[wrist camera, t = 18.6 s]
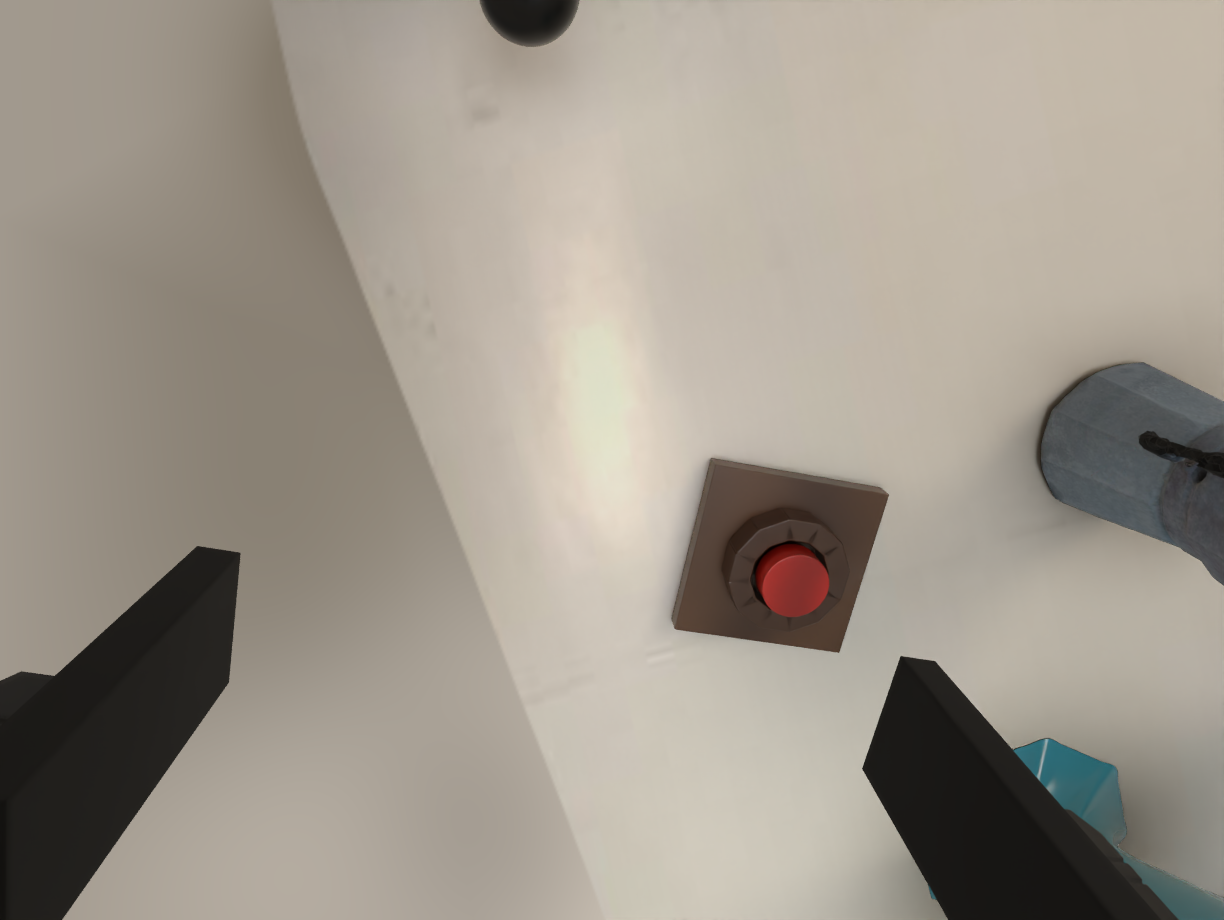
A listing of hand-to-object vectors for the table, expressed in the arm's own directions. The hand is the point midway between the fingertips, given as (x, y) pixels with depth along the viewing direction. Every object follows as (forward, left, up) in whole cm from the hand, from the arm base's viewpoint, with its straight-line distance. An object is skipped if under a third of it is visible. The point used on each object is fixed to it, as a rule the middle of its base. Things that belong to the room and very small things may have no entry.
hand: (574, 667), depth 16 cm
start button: (+14, -8, -25) cm, 30 cm away
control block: (+14, -8, -28) cm, 32 cm away
